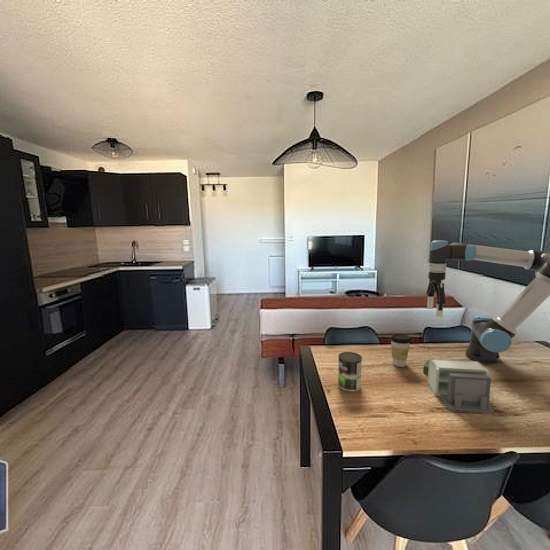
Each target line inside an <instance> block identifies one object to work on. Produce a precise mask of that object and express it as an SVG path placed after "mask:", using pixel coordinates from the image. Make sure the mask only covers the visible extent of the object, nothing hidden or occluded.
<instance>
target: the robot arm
mask: <svg viewBox="0 0 550 550" xmlns="http://www.w3.org/2000/svg"><path fill="white" fill-rule="evenodd" d="M447 260H449V261H467V262H468V261H481V262H488V263H494V264H500V265H501V264H502V265H508V266H516V267H523V268H524V269H525V270H528V271H534V272H535V273H534V275H535V278H534V279H533V280H532V281H531V282H529V284H528V285H527V286H526V287H525V288H524V289H523V290H522V291H521V292H520V294H518V295H517V297H516V298H514V300H512V302H511V303H509V305H507V307H506V308H505V309H504V310H503V311H502V312H501V313H500V314H499V315H498V316H493V315H485V314H477V315H473V316H472V319H471V329H470V330H471V332H470V341H469V344H468V346H467V348H466V349H465V356H466V357H467V358H468V359H470V360H471V361H478V362H479V363H480V364H481V363H482V364H493V365H494V364H498V363H499V362H500V354H499V353H504V352H506V351H507V350H509V349H510V348H511V346H512V341H513V338H515V336H516V335H517V329H518V328H519V327H520V326H521V325H522V324H523V323H524V322H525V321H526V320H527V319H528V317H530V316H531V315H532V314H533V313H534V312H535V311H536V310H537V309H538V308H539V307H540V306H541V305H542V304H543V303H544V302H545V301H546V300H547V299H548V298H549V297H550V250H536V249H530V250H527V251H526V250H517V249H509V248H501V247H495V246H494V247H493V246H485V245H477V244H468V243H461V242H456V241H455V242H452V243H450V244H449V242H448V240H441V239H440V240H439V239H438V240H436V239H435V240H432V241H431V242H430V248H429V262H428V263H429V264H428V265H427V267H428V270H429V271H428V277H427V278H428V279H429V280H428V281H429V282H428V285H427V289H426V290H427V291H426V293H425V294H426V295H427V304H426V305H427V306H426V309H428V310H433V309H434V301H435V296H436V301H437V302H436V307H435V308H436V310H435V311H436V312H435V317H439V318H441V317H442V318H443V313H444V305H445V304H446V303H447V301H446V292H445V283H444V282H442V281H445V280H446V272H447Z"/></svg>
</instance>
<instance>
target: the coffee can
mask: <svg viewBox="0 0 550 550" xmlns="http://www.w3.org/2000/svg"><path fill="white" fill-rule="evenodd" d="M337 357H338V369H337V370H338V371H337V372H338V373H337V374H338V376H337V377H338V378H337V386H338V388H339V389H341V390H343V391H346V392H357V391H359V390H360V389H362V364H363V363H362V360H363V356H362V355H361V354H359V353H357V352H353V351H344V352H339V354H338V356H337Z"/></svg>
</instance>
